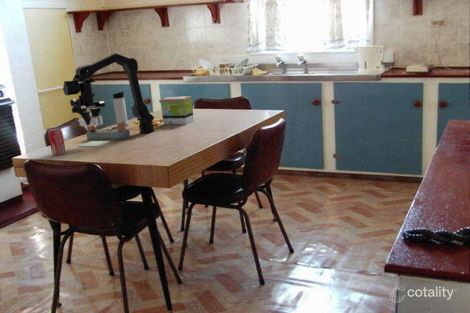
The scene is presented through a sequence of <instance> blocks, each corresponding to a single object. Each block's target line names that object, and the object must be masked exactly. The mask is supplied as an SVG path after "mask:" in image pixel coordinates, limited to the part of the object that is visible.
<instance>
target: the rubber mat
mask: <svg viewBox="0 0 470 313" xmlns="http://www.w3.org/2000/svg"><path fill="white" fill-rule="evenodd" d="M109 143H111V140H89V141H87V142H85V143H81V144H79V145H78V148H99V147H101V146H105V145H107V144H109Z"/></svg>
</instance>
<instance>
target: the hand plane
mask: <svg viewBox="0 0 470 313" xmlns="http://www.w3.org/2000/svg"><path fill="white" fill-rule="evenodd" d="M88 128H89V131H88V132H86V133H85V135H86V140H87V141H124V140H125V139H128V138H130V137H131V133H130V129H129V128H126V126H125V123H117V122H116V128H117V129H112V127H109V128H108V129H98V128H97V126H88Z"/></svg>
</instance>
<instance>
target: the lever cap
mask: <svg viewBox="0 0 470 313" xmlns="http://www.w3.org/2000/svg"><path fill="white" fill-rule="evenodd" d="M80 116H81V115H80ZM78 121H79V126H80V127H89V126H96V127H98V126H99V125H103V116H102V115H98V116H92V114H90V121H89V125H87V124H86V122H85V121H84V119H83V117H82V116H81V117H78Z"/></svg>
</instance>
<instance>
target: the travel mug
mask: <svg viewBox="0 0 470 313" xmlns="http://www.w3.org/2000/svg"><path fill="white" fill-rule="evenodd" d="M124 93H125V91H120V92H116V93H113V94H112V99H113V106H114V107H113V108H114V112H115V119H116V124H117V123H125V127H128V126H129V121H128V115H127V108H126V100H125V95H124Z"/></svg>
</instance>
